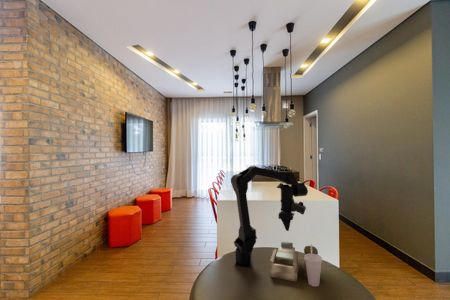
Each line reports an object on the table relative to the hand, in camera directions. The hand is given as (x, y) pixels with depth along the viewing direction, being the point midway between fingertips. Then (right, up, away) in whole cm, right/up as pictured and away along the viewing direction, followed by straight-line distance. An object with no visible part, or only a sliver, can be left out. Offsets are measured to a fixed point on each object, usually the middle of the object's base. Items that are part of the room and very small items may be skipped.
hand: (287, 229), depth 104 cm
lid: (-4, -7, -10) cm, 13 cm away
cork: (+4, -11, -19) cm, 22 cm away
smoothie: (+3, -11, -25) cm, 27 cm away
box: (-6, -11, -16) cm, 20 cm away
